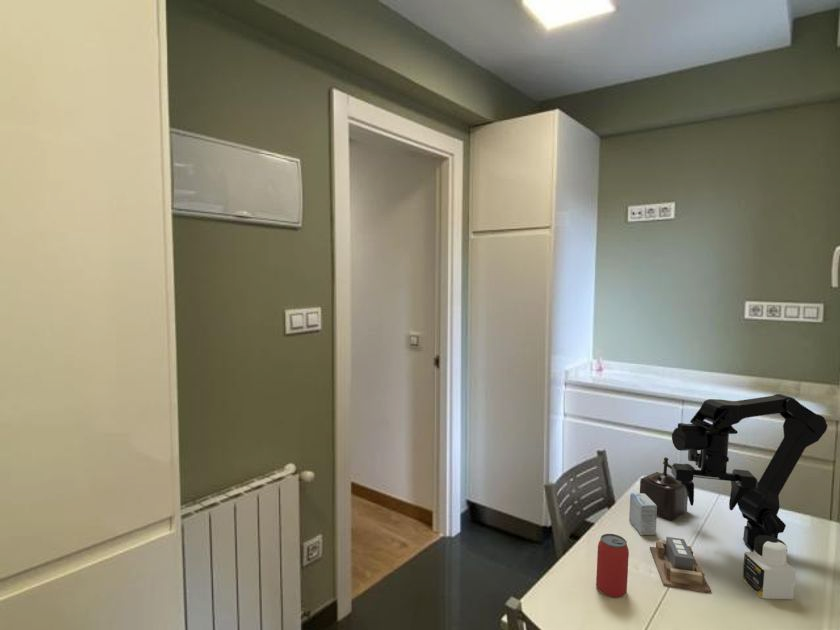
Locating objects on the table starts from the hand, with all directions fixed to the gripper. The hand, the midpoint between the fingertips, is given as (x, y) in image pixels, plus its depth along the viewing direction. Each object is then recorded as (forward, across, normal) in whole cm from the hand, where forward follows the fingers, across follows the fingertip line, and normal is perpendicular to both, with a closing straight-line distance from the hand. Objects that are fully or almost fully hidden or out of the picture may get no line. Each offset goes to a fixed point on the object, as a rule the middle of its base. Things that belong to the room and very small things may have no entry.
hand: (710, 507), depth 130 cm
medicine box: (+12, +15, -7) cm, 20 cm away
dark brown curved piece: (+12, +5, -19) cm, 23 cm away
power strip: (+11, +10, +12) cm, 19 cm away
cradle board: (+12, +10, +12) cm, 19 cm away
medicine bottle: (+12, -8, +15) cm, 21 cm away
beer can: (+12, +27, +25) cm, 39 cm away
